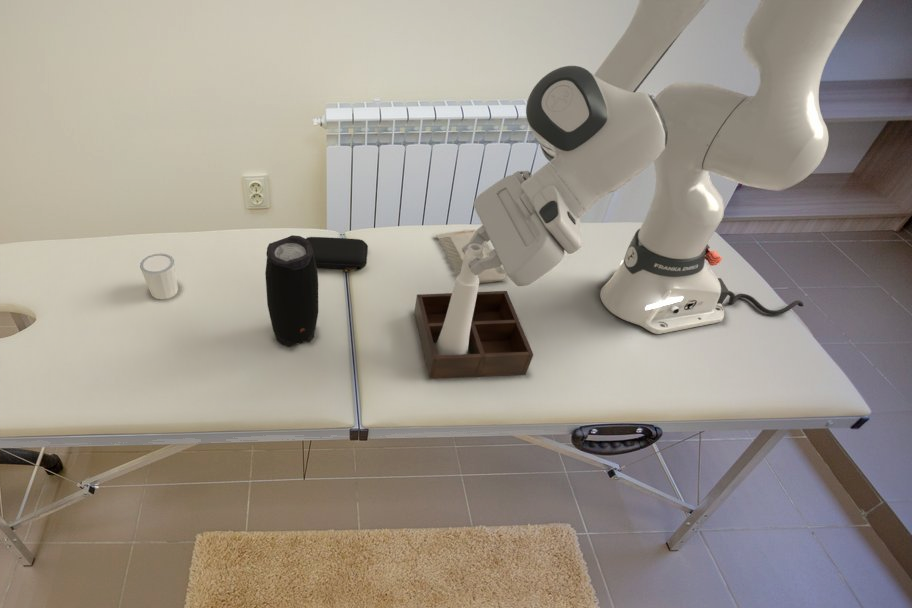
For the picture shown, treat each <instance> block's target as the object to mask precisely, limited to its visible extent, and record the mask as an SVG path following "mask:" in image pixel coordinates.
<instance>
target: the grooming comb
mask: <svg viewBox="0 0 912 608" xmlns="http://www.w3.org/2000/svg"><path fill="white" fill-rule="evenodd" d="M476 231H477V230H476V229H469V230H459V231H453V232H446V233H441V234H436V238H437V240H438V241H439V243H440V245H441V247H442V249H443V250H444V252H445V253H444V254H445V255H446V257H447V259H448V261H449V263H450V264H451V267H452V268H453V271H454V272H455V274H456V277H457V276H458V275H459V274H460V272H461V268H462V264H463V259H464V253H463V251H462V248H463V247H464V246H465V245H466V244H468V243H469V242H470V240H471V239H472V237H473V235H474V234H475V232H476ZM481 246H482V247H483V250H482V253H483V258H486V257H489V253H490V252H491V251H492V250H491V249H490V246H489V245H488V242H486V241H485V242H484V243H483V244H482V245H481ZM483 258H482V259H483ZM501 266H502V265H500V266H499V267H496V268H491V269H487V270H484V271H483V272H482V273H480V274H479V275H478V278H479V284H484V283H494V282H503V281H505V279H506V277H507V274H506V272H505V271H504V270H503V267H501Z"/></svg>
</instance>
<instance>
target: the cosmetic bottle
mask: <svg viewBox="0 0 912 608" xmlns="http://www.w3.org/2000/svg"><path fill="white" fill-rule="evenodd" d="M482 250H483V247H482V246H481V245H479V244H475V243H474V244H470V245H469V246H468V250H466V252H465V255H464V259H463V264H462V268H461V272H460V271H459V272H460V274H457V275H458V276H457V275H456V278H455V281H454V286H453V289H452V292H451V293H452V296H451V299H450V303H449V307H448V310H447V314H446V318H445V321H444V324H443V327H442V330H441V333H440V336H439V338H438V340H437V343H436V345H435V350H436V354H437V356H440V355H463V354H468V345H469V335H470V328H471V323H472V317H473V312H474V307H475V302H476V297H477V292H479V286H480V283H479V278H478V275H474V274H473V273H472V272H471V270H470V268H469V263H470V262H472V261H473V260H474V259H475V258H478V259H479V260H480V259H482V258H483V253H482Z"/></svg>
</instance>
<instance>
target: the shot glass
mask: <svg viewBox="0 0 912 608" xmlns="http://www.w3.org/2000/svg"><path fill="white" fill-rule="evenodd" d="M139 268H140V269H139V270H140V271H141V273H142V275H143V278H144V280H145V282H146V285H147V287H148V289H149V292H150V294H151V296H152V298H154V299H157V300H168V299H171V298H173V297H174V296H176V294H177V293H178V292H179V286H178V285H179V284H178V278H177V272H176V263H175V259H174V258H173V256H171V255H170V254H167V253H154V254H150V255H148V256H146V257H145V258H143V259H142V260H141V262H140V263H139Z"/></svg>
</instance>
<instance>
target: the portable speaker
mask: <svg viewBox="0 0 912 608" xmlns="http://www.w3.org/2000/svg"><path fill="white" fill-rule="evenodd" d="M318 273H319V272H318V269H317V266H316V261H315V256H314V252H313V248H312V246H311V244H310V242H309V240H307V239H306V238H305V237H302V236H301V235H290V236H287V237H284V238H281V239H279V240H276V241H273V242H270V243H268V245H267V247H266V264H265V273H264V274H265V289H266V291H265V292H266V303H267V310H268V313H269V319H270V323H271V327H272V332H273V333H274V337H275V340H276V341H277V342H278V343H279V344H280V345H281V346H285V347H288V348H291V347H292V346H293V345H294V346H295V345H299V344H302V343H306V342H307V343H311V342H312V341H313V339H314V338H315V332H316V328H317V322H318V317H319V274H318Z"/></svg>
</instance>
